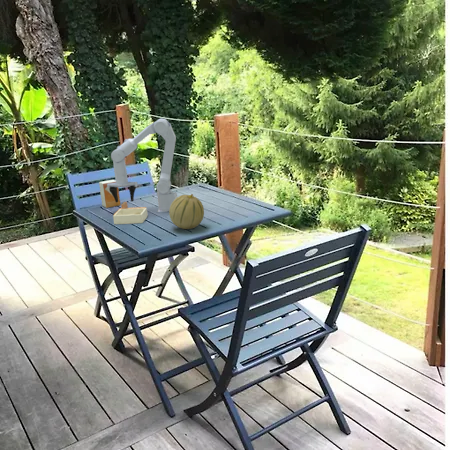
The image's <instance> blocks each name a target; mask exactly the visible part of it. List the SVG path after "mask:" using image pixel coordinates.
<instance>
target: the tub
mask: <svg viewBox="0 0 450 450" xmlns="http://www.w3.org/2000/svg"><path fill="white" fill-rule="evenodd" d="M119 209H120V208H119ZM119 209H118V210H119ZM118 210H117V211H118ZM117 211H116V212H117ZM116 212H115V213H116ZM115 213H114V214H115ZM137 213H139V214H137ZM114 214H113V215H114ZM134 214H136V215H134ZM148 216H149V215H148V207H146V208H136V209H120V210H119V211H118V212H117V213H116V214H115V215H114V216H112V218H113V224H114V225H125V224H127V225H130V224H132V225H133V224H143V223H144V221H146V219H147V218H148Z"/></svg>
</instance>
